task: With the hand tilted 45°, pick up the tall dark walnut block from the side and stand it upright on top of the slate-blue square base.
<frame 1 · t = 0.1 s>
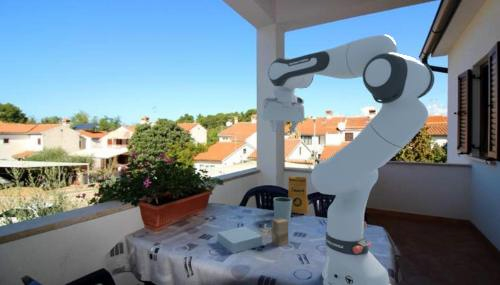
hand: (283, 132, 110), 48 cm above the table, tool pointing down, fingers open, 8 cm apart
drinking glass: (282, 221, 142), on the table
coffee package: (298, 212, 158), on the table
slate base: (239, 243, 112), on the table
walnut block: (279, 243, 113), on the table
cupcake: (356, 233, 124), on the table
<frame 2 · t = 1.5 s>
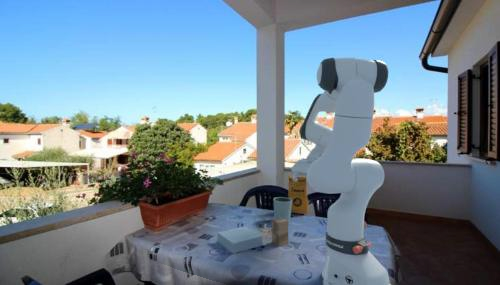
hand: (301, 182, 119), 25 cm above the table, tool tilted 45°, fingers open, 8 cm apart
nothing on the table moved.
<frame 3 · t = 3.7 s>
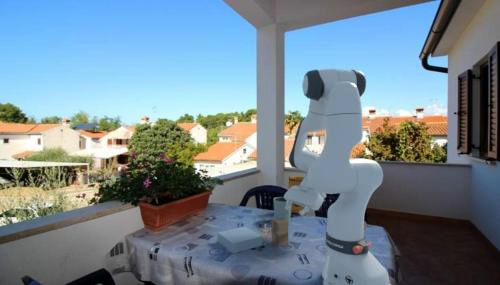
hand: (293, 212, 117), 12 cm above the table, tool tilted 45°, fingers open, 8 cm apart
nothing on the table moved.
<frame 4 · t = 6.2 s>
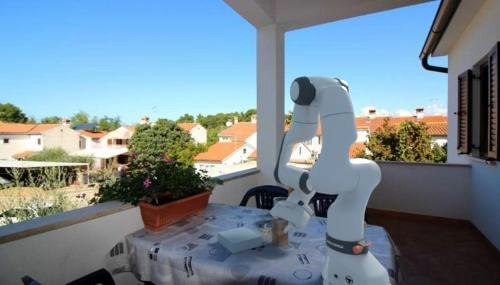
hand: (278, 229, 112), 6 cm above the table, tool tilted 45°, fingers closed on walnut block, 5 cm apart
walnut block: (279, 243, 113), on the table, touching gripper
everything else where it was.
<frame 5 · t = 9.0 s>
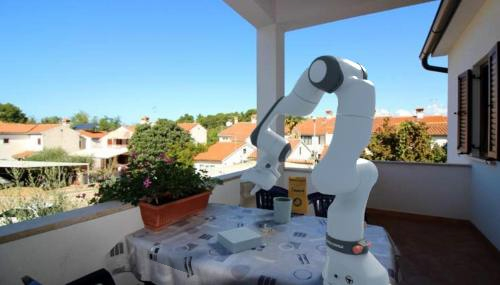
hand: (246, 192, 112), 22 cm above the table, tool tilted 45°, fingers closed on walnut block, 5 cm apart
walnut block: (247, 206, 113), point 16 cm above the table, touching gripper
everything else where it was.
when the fingers open (11 cm above the table, at t = 12.1 s): walnut block drops 1 cm, resting on slate base.
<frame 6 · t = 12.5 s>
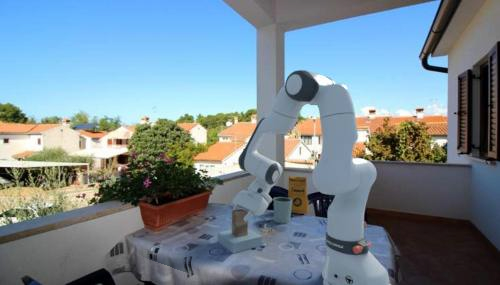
hand: (238, 217, 112), 11 cm above the table, tool tilted 45°, fingers open, 8 cm apart
walnut block: (239, 234, 112), point 4 cm above the table, touching slate base
everything else where it was.
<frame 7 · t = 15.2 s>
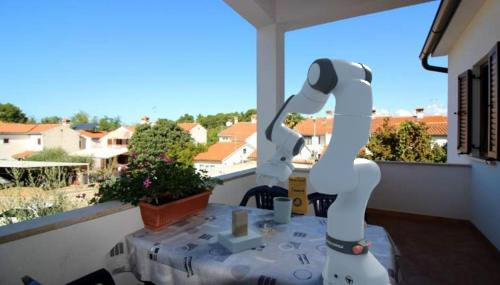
hand: (262, 184, 118), 24 cm above the table, tool tilted 45°, fingers open, 8 cm apart
nothing on the table moved.
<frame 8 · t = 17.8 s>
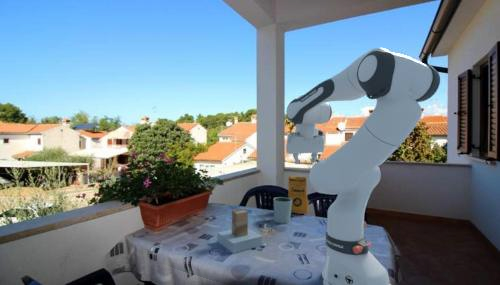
hand: (305, 163, 116), 34 cm above the table, tool pointing down, fingers open, 8 cm apart
nothing on the table moved.
at the end: walnut block inside the target area on the slate base (0.1 cm from its centre), point 4.0 cm above the slate base's base; walnut block tilted 0°; the gripper is holding nothing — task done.
